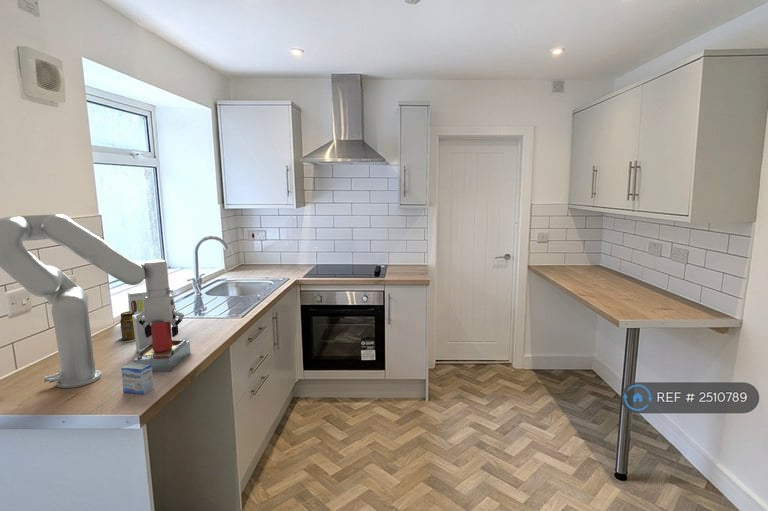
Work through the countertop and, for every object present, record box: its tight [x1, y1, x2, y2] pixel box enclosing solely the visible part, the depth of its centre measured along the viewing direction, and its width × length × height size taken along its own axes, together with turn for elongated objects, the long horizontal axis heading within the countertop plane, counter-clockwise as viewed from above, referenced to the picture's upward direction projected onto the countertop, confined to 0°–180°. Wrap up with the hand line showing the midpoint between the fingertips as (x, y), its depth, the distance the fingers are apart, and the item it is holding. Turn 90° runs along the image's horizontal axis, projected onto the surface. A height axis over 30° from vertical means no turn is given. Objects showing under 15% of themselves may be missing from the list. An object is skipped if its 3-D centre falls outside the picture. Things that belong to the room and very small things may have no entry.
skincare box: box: [132, 314, 152, 353], centre depth 166 cm, size 8×7×16 cm
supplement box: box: [127, 288, 147, 315], centre depth 201 cm, size 10×9×17 cm
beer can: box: [151, 321, 173, 352], centre depth 153 cm, size 7×7×12 cm
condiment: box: [114, 310, 135, 343], centre depth 179 cm, size 7×8×12 cm
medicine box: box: [120, 362, 154, 395], centre depth 132 cm, size 8×4×9 cm, turn 80°
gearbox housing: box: [133, 339, 191, 373], centre depth 155 cm, size 18×12×7 cm
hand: (162, 336), depth 154 cm, fingers open, 9 cm apart
